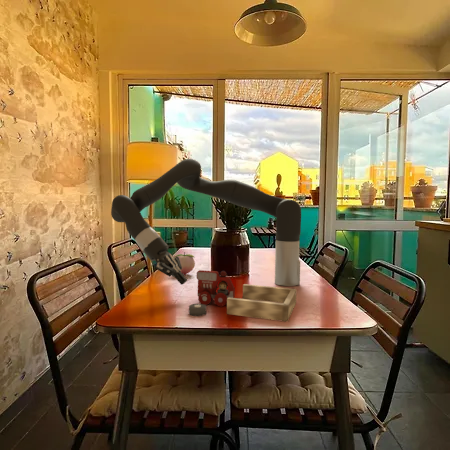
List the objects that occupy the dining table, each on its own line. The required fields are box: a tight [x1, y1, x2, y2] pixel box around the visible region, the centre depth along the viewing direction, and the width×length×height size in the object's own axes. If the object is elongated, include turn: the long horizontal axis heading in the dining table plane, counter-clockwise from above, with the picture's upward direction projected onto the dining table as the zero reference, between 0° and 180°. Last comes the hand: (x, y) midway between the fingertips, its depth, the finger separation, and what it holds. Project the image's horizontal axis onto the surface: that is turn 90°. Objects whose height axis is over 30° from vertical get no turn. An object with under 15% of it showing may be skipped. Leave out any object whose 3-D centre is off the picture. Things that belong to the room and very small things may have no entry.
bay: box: [226, 283, 297, 322], centre depth 102 cm, size 18×18×4 cm
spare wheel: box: [188, 303, 207, 317], centre depth 97 cm, size 5×5×2 cm
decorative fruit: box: [173, 252, 196, 276], centre depth 147 cm, size 9×8×10 cm
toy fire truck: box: [196, 269, 236, 307], centre depth 107 cm, size 7×12×10 cm, turn 78°
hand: (184, 282), depth 111 cm, fingers closed
